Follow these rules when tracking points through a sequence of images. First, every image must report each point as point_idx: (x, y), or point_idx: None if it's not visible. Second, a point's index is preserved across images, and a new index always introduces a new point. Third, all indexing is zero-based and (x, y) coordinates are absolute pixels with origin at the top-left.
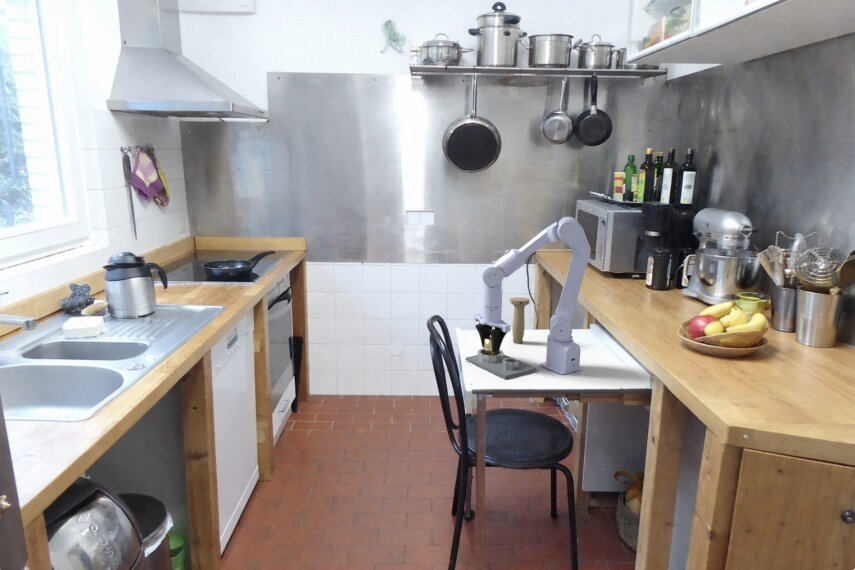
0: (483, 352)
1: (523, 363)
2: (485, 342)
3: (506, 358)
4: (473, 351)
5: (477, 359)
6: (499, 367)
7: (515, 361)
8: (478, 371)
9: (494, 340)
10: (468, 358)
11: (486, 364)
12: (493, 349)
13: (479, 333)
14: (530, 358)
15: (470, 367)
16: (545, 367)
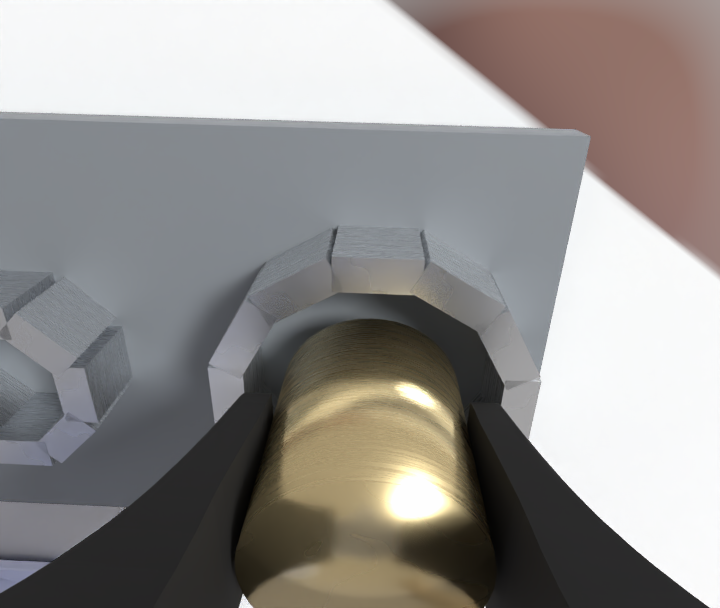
0: (492, 380)
1: (95, 493)
2: (388, 443)
3: (83, 404)
4: (713, 400)
5: (432, 222)
6: (75, 254)
7: (5, 429)
8: (174, 8)
9: (109, 522)
10: (538, 149)
11: (226, 195)
12: (231, 410)
13: (622, 564)
14: (249, 605)
15: (349, 15)
16: (8, 560)
